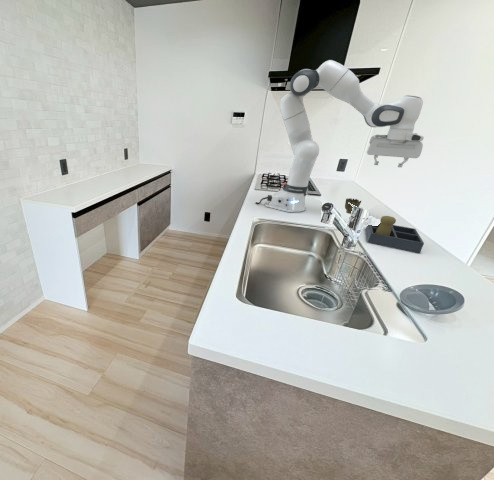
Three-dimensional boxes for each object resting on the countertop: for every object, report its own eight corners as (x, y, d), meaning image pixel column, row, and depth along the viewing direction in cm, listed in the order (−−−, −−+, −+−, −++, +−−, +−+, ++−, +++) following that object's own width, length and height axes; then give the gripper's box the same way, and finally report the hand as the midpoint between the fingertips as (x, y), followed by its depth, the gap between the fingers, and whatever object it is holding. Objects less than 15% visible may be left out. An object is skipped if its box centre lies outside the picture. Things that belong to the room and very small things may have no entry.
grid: (367, 242, 115) (371, 233, 113) (365, 229, 129) (368, 220, 127) (419, 253, 107) (424, 243, 105) (411, 237, 121) (415, 228, 119)
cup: (359, 215, 147) (364, 202, 143) (346, 215, 147) (351, 201, 143) (351, 211, 154) (356, 198, 150) (339, 210, 154) (343, 197, 150)
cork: (391, 243, 113) (401, 219, 109) (375, 241, 115) (385, 218, 110) (384, 237, 119) (393, 215, 114) (369, 236, 120) (378, 213, 115)
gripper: (372, 134, 122) (362, 164, 128) (428, 137, 113) (415, 169, 119) (371, 134, 127) (361, 162, 133) (425, 136, 118) (412, 167, 124)
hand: (387, 166), depth 126 cm, fingers open, 8 cm apart
